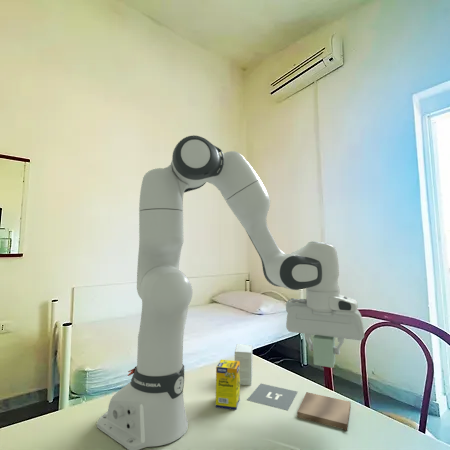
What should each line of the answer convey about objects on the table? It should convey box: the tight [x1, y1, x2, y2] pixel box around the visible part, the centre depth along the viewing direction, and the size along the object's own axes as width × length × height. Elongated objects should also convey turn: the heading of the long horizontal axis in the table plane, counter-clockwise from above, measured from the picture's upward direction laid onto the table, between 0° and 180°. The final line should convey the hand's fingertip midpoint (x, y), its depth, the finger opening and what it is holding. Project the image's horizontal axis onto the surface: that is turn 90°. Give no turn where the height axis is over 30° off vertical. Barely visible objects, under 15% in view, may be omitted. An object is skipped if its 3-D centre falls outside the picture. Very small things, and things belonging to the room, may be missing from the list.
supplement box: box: [215, 359, 241, 411], centre depth 84 cm, size 6×6×11 cm
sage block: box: [312, 335, 336, 369], centre depth 81 cm, size 5×5×7 cm
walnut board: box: [296, 392, 352, 431], centre depth 79 cm, size 12×12×2 cm
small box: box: [234, 343, 253, 386], centre depth 99 cm, size 8×6×10 cm
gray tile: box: [246, 383, 299, 411], centre depth 88 cm, size 12×12×1 cm
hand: (324, 352), depth 80 cm, fingers closed on sage block, 5 cm apart
